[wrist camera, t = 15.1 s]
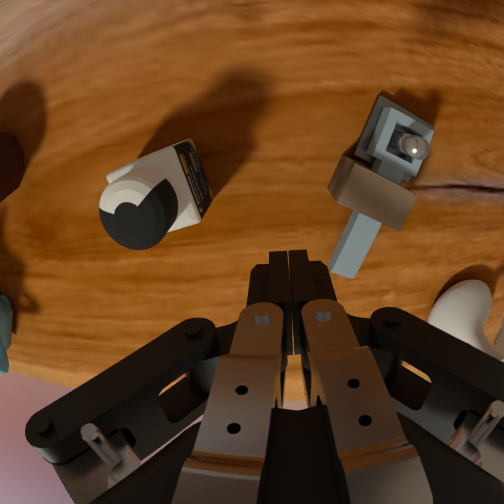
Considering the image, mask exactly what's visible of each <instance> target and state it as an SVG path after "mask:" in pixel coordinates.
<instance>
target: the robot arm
mask: <svg viewBox="0 0 504 504" xmlns="http://www.w3.org/2000/svg"><path fill="white" fill-rule="evenodd" d="M289 273H290V279H289ZM292 322H293V336H294V352H295V355H297V354H301V373H302V379H303V385H304V390H305V396H306V402H307V406H308V408H307V409H303V410H289V409H283V404H284V393H285V380H286V367H287V363H288V359H287V355H293V342H292ZM403 361H405V362H407V363H408V364H410V365H412V366H413V367H415V368H417V369H418V370H420V371H422V372H423V373H425V374H426V375H428V377H429V378H430V380H431V382H432V383H430V382H428V381H427V380H425V379H423V378H422V377H420V376H418V375H417V374H415V373H413V372H412V371H410V370H408V369H407V368H405V367H403V366H402V363H403ZM184 373H185V375H186V377H184V378H183V379H182V380H180V381H179V382H177V383H176V384H175V385H173V386H172V387H170V388H169V389H168V390H166V391H165V392H163V393H162V394H161V395H159V394H160V392H161V391H162V389H164V388H165V387H166V386H168V385H169V384H170V383H172V382H173V381H175V380H176V379H177V378H179V377H180V376H181V375H183V374H184ZM395 410H396V411H395ZM202 414H204V415H203V418H202V421H200V422H198V423H196V424H194V425H192V426H191V427H189V428H188V429H186V430H185V431H184V432H182V433H181V434H180V435H179V436H178V437H176V438H175V439H174V440H173V441H171V442H170V443H169V444H168V445H167V446H165V447H164V448H163V449H161V450H160V451H159V452H158V453H156V454H155V455H154V456H153V457H151V458H150V459H149V460H148V461H146V462H145V463H143V464H142V465H141V462H140V461H142V460H143V459H144V458H146V457H147V456H148V455H150V454H151V453H153V452H154V451H155V450H157V449H158V448H160V447H161V446H162V445H164V444H165V443H166V442H168V441H169V440H170V439H172V438H173V437H174V436H176V435H177V434H178V433H180V432H181V431H182V430H183V429H185V428H186V427H187V426H189V425H190V424H191V423H192V422H194V421H195V420H196V419H197V418H199V417H200V416H201V415H202ZM25 435H26V439H27V441H28V442H29V443H30V444H31V445H32V446H33V447H34V448H35V449H36V450H37V451H38V452H39V453H40V454H41V455H42V456H43V458H44V459H45V460H46V461H47V462H48V463H49V464H50V465H52V466H53V467H54V469H55V471H56V473H57V474H58V476H59V478H60V480H61V482H62V483H63V485H64V487H65V489H66V490H67V492H68V493H69V495H70V497H71V498H72V500H73V502H74V503H75V504H504V362H502V361H500V360H498V359H496V358H494V357H492V356H491V355H489V354H487V353H485V352H483V351H481V350H479V349H477V348H475V347H473V346H472V345H470V344H468V343H466V342H464V341H462V340H460V339H458V338H456V337H454V336H452V335H451V334H449V333H447V332H445V331H443V330H441V329H439V328H437V327H435V326H433V325H431V324H429V323H427V322H425V321H423V320H421V319H420V318H418V317H416V316H414V315H412V314H410V313H408V312H406V311H404V310H402V309H399V308H395V307H384V308H380V309H378V310H376V311H374V312H373V313H372V315H371V317H370V319H369V318H361V317H355V316H352V315H349V314H347V313H346V311H345V309H344V307H343V306H342V305H341V304H340V303H338V302H337V298H336V295H335V291H334V288H333V285H332V282H331V278H330V276H329V271H328V268H327V266H326V265H325V264H323V263H322V262H321V261H309V259H308V254H307V250H289V267H288V256H287V251H274V252H269V264H257V265H256V266H255V267H254V268H253V269H252V271H251V274H250V282H249V290H248V298H247V306H246V308H244V309H243V310H242V311H241V313H240V315H239V319H238V321H236V322H234V323H232V324H229V325H225V326H221V327H217V328H216V327H215V325H214V323H213V322H212V321H210V320H208V319H205V318H191V319H187V320H185V321H182V322H181V323H179V324H177V325H176V326H174V327H173V328H171V329H170V330H168V331H167V332H165V333H163V334H162V335H160V336H159V337H157V338H156V339H154V340H152V341H151V342H149V343H148V344H146V345H145V346H143V347H141V348H140V349H138V350H137V351H135V352H134V353H132V354H130V355H129V356H127V357H126V358H124V359H122V360H121V361H119V362H118V363H116V364H114V365H113V366H111V367H110V368H108V369H106V370H105V371H103V372H102V373H100V374H98V375H97V376H95V377H94V378H92V379H90V380H89V381H87V382H85V383H84V384H82V385H81V386H79V387H77V388H76V389H74V390H73V391H71V392H69V393H68V394H66V395H64V396H63V397H61V398H59V399H58V400H56V401H54V402H53V403H51V404H50V405H48V406H46V407H45V408H43V409H41V410H40V411H38V412H37V413H35V414H34V415H33V416H32V417H31V418H30V419H29V421H28V422H27V424H26V428H25ZM448 445H449V446H448ZM140 465H141V466H140Z"/></svg>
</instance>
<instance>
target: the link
mask: <svg viewBox="0 0 504 504" xmlns="http://www.w3.org/2000/svg"><path fill="white" fill-rule="evenodd" d="M396 124H398V125H400V126H402V127H404V128H406V129H408V130H410V131H411V132H413V133H414V135H415V136H418V137H422V138H424V139H426V140H427V141H428V143H429V144H430V141H431V139H432V136H433V133H434V131H433V130H431V129H429V128H428V127H426V126H424V125H423V124H421V123H419V122H417V121H416V120H414V119H412V118H410V117H408V116H407V115H405V114H403V113H401V112H399V111H397V110H395V109H393V108H391V107H384V108H383V111H382V113H381V116H380V118H379V121H378V124H377V126H376V129H375V131H374V134H373V136H372V139H371V141H370V144H369V146H368V149H367V151H366V152H367V153H368V154H370V155H372V156H374V157H376V159H375V161H374V163H373V166H372V168H371V171H373V172H375V173H377V174H379V175H381V176H383V177H385V178H387V179H389V180H391V181H393V182H395V183H396V184H398V185H400V183H401V181H402V179H403V177H404V174H405V172H407V173H409V174H411V175H413V176H415V177H416V175H417V173H418V170H419V168H420V166H421V163H422V161H423V160H418V159H416V158H413V157H411V156H409V155H407V154H406V155H405V157H404V160H403V159H401V158H399V157H397V156H395V155H393V154H391V153H389V152H387V151H385V150H386V148H387V145H388V143H389V140H390V138H391V135H392V133H393V130H394V128H395V125H396ZM381 224H382V223H380V222H378V221H376V220H374V219H372V218H370V217H367V216H365V215H363V214H361V213H359V212H356V211H354V210H353V212H352V214H351V216H350V218H349V220H348V223H347V225H346V227H345V229H344V231H343V233H342V235H341V238H340V240H339V242H338V244H337V246H336V248H335V250H334V252H333V254H332V256H331V258H330V260H329V263H328V264H329V267H330V270H331V272H332V273H335V274H339V275H342V276H345V277H348V278H351V279H354V277H355V275H356V273H357V271H358V269H359V268H360V266H361V264H362V262H363V260H364V258H365V256H366V254H367V252H368V250H369V248H370V246H371V245H372V243H373V241H374V239H375V237H376V235H377V233H378V231H379V228H380V226H381Z"/></svg>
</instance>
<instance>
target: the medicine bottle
mask: <svg viewBox="0 0 504 504" xmlns="http://www.w3.org/2000/svg"><path fill="white" fill-rule="evenodd" d="M107 180H108V182H109V185H108V186H107V187H106V188H105V190H104V191H103V193H102V196H101V199H100V204H99V213H100V218H101V222H102V224H103V227H104V228H105V230H106V232H107V233H108V234H109V236H110V237H111V238H112V239H113V240H114V241H116V242H117V243H118V244H120V245H122V246H124V247H126V248H129V249H133V250H144V249H148V248H151V247H153V246H155V245H156V244H158V243H159V242H160V241H161V240H162V239H163V237H164V236H165V235H166V233H167V232H170V231H173V230H177V229H180V228H183V227H187V226H190V225H193V224H197V223H199V222H200V221H201V220H202V218H203V216H204V214H205V213H206V211H207V209H208V207H209V206H210V204H211V202H212V201H213V199H214V198H213V194H212V192H211V189H210V186H209V183H208V181H207V178H206V175H205V172H204V170H203V167H202V164H201V161H200V158H199V156H198V153H197V150H196V147H195V145H194V142H193V140H192V139H191V138H189V139H186V140H183V141H181V142H178V143H175V144H173V145H170V146H168V147H165V148H163V149H160V150H158V151H155V152H153V153H150V154H148V155H145V156H143V157H141V158H138V159H136V160H134V161H132V162H130V163H128V164H126V165H124V166H122V167H120V168H118V169H116V170H114V171H112V172H110V173H108V174H107Z"/></svg>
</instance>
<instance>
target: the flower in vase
mask: <svg viewBox="0 0 504 504" xmlns="http://www.w3.org/2000/svg"><path fill="white" fill-rule="evenodd" d="M491 306H492V297H491V293H490V289H489V287H488V286H487V285H486V284H485V283H484V282H483V281H480V280H465V281H461V282H459V283H457V284H455V285H453V286H452V287H450V288H449V289H448V290H446V291H445V292H444V293H443V294H442V295H441V296H440V297H439V299H438V300H437V301H436V303H435V304H434V306H433V308H432V310H431V312H430V315H429V318H428V323H429V324H431V325H433V326H435V327H437V328H439V329H441V330H443V331H445V332H447V333H449V334H451V335H452V336H454V337H456V338H458V339H460V340H462V341H464V342H468V343H470V344H471V345H472V346H473V347H475V348H477V349H479V350H481V351H483V352H485V353H487V354H489V355H491V356H492V357H494V358H496V359H498V360H500V361H502V362H504V355H502V354H500V353H499V352H498V351H497V350H496V349H495V348H494V347H493V346H492V345H491V343H490V342H489V341H488V339H487V338H486V336H485V334H484V331H483V328H484V326H485V324H486V321H487V319H488V317H489V314H490V310H491Z"/></svg>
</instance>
